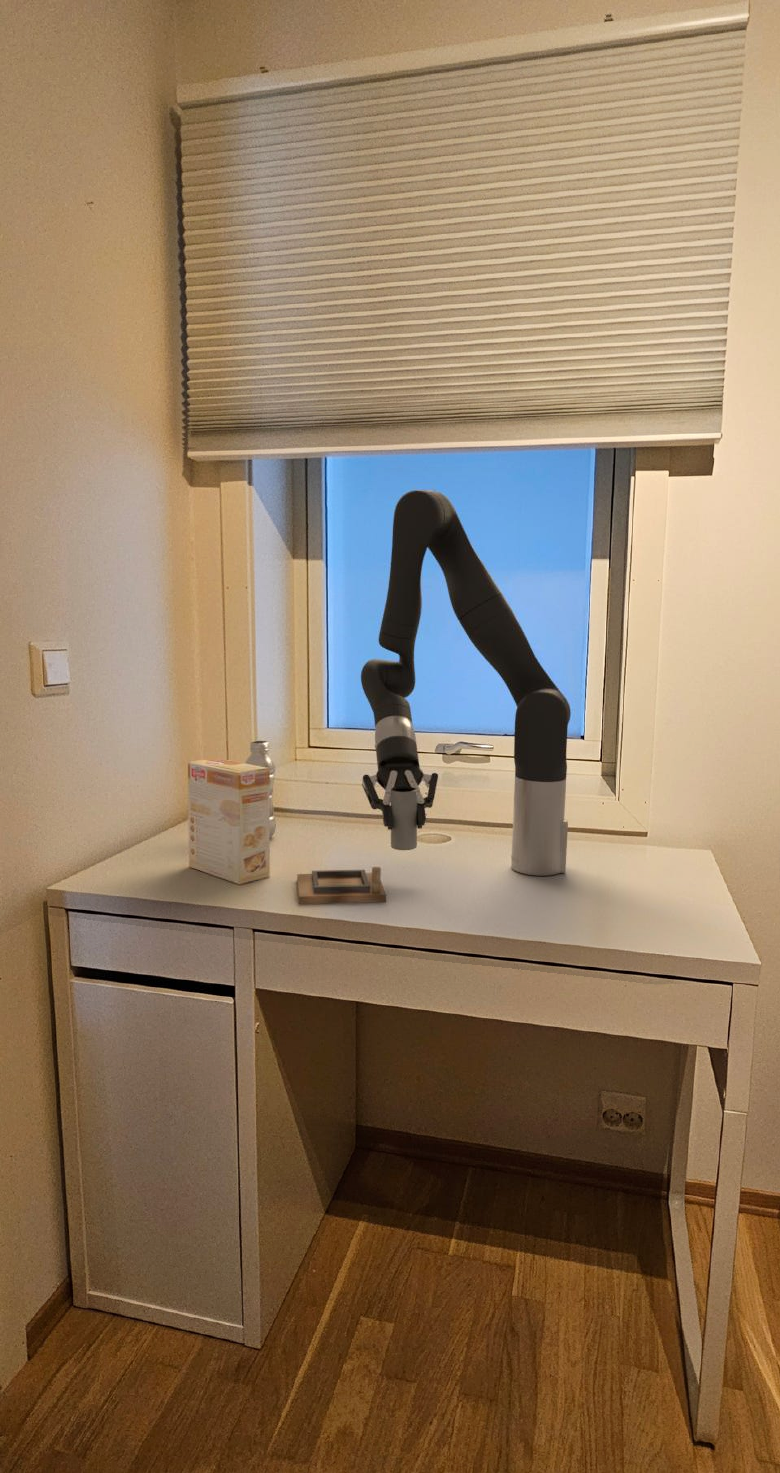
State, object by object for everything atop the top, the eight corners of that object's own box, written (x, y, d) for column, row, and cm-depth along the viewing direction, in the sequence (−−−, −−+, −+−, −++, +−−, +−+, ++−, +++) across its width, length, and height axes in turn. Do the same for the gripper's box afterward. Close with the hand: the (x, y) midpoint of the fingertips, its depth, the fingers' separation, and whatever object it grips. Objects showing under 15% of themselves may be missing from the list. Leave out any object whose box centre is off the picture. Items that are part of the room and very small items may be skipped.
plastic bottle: (282, 837, 176) (282, 741, 173) (261, 844, 170) (260, 745, 167) (258, 832, 179) (258, 738, 176) (236, 839, 173) (236, 742, 170)
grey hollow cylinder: (414, 851, 145) (414, 792, 143) (388, 849, 146) (388, 791, 144) (419, 844, 149) (419, 786, 148) (393, 843, 150) (393, 786, 149)
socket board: (377, 879, 149) (378, 850, 148) (386, 901, 137) (386, 870, 136) (297, 880, 147) (297, 851, 146) (298, 903, 135) (299, 872, 134)
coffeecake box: (271, 877, 149) (271, 767, 146) (238, 885, 144) (238, 772, 141) (219, 859, 159) (218, 756, 156) (187, 867, 153) (186, 761, 151)
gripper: (358, 735, 151) (365, 816, 141) (437, 733, 153) (449, 813, 143) (356, 759, 157) (362, 839, 147) (432, 757, 159) (443, 836, 149)
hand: (405, 826), depth 145 cm, fingers closed on grey hollow cylinder, 4 cm apart
